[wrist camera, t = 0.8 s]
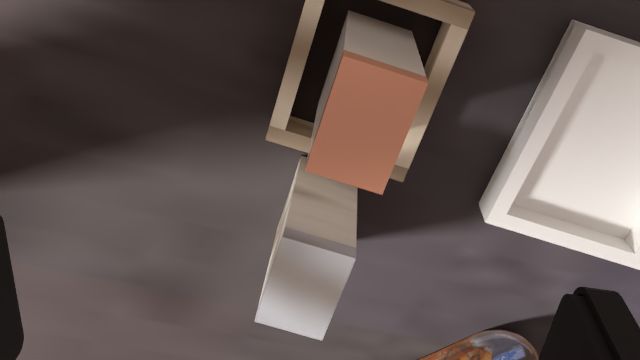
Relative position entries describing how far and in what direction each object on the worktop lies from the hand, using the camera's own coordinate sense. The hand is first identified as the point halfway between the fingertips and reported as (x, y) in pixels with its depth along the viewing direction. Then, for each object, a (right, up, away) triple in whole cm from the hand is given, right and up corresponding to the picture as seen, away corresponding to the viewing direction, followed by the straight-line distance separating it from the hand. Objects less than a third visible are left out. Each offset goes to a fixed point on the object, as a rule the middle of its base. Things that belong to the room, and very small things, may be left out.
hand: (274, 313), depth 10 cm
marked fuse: (+3, +9, +26) cm, 28 cm away
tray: (+19, +5, +27) cm, 34 cm away
